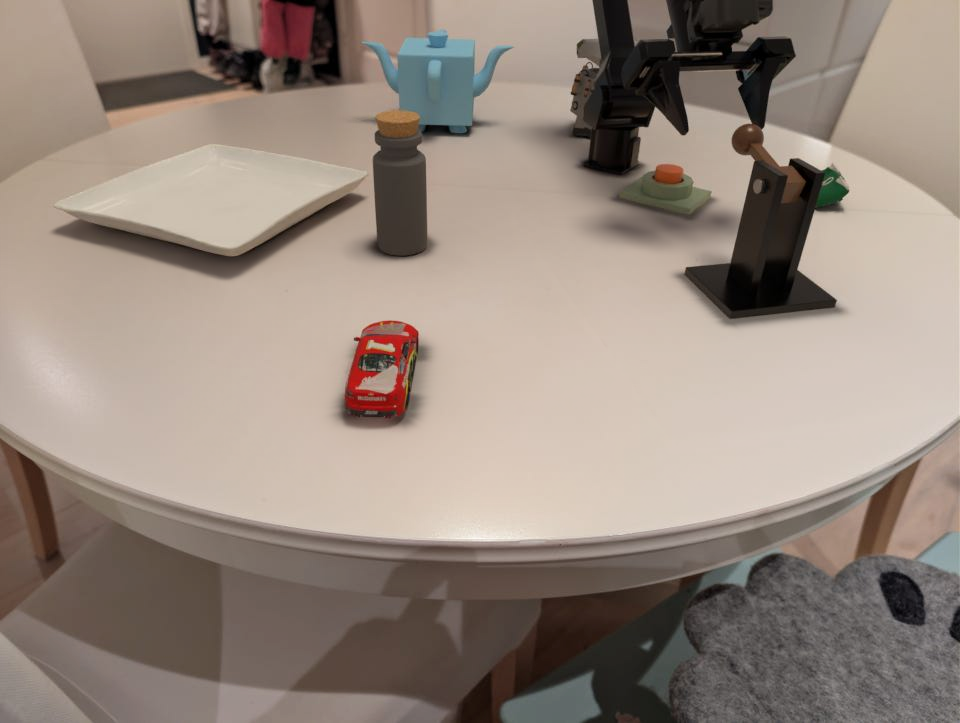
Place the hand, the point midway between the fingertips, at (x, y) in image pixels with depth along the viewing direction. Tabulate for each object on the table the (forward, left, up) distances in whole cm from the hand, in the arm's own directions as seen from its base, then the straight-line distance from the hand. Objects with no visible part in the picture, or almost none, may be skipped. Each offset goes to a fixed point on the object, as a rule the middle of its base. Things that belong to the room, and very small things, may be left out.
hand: (723, 131), depth 82 cm
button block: (-9, +11, -13) cm, 20 cm away
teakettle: (-55, +21, -14) cm, 61 cm away
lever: (+6, -5, -2) cm, 8 cm away
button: (-9, +11, -11) cm, 18 cm away
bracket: (+9, -8, -13) cm, 18 cm away
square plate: (-52, -28, -14) cm, 61 cm away
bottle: (-28, -22, -14) cm, 38 cm away
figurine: (-30, +34, -14) cm, 48 cm away
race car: (-12, -44, -14) cm, 48 cm away
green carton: (+8, +24, -14) cm, 29 cm away
